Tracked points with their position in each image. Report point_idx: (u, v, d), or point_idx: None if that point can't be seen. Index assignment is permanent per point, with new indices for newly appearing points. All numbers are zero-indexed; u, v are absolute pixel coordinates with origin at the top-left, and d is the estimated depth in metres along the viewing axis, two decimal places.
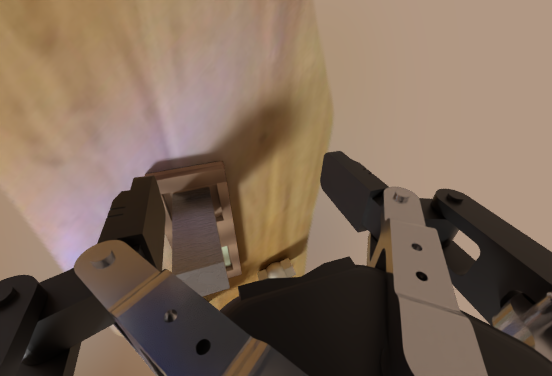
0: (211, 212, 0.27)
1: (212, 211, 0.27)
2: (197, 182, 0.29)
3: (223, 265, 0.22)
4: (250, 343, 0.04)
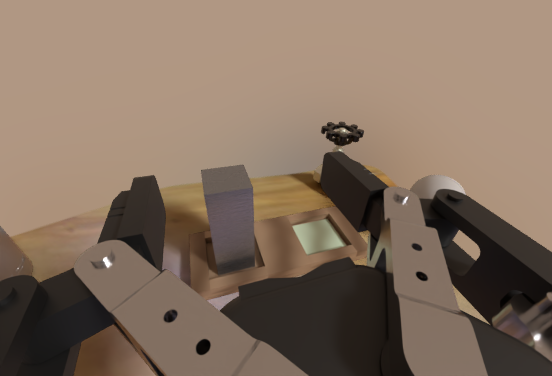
0: None
1: None
2: (200, 252, 0.30)
3: (206, 170, 0.25)
4: (250, 343, 0.04)
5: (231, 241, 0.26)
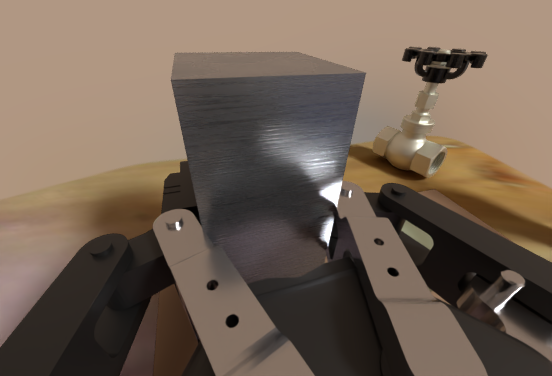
0: None
1: None
2: None
3: (191, 53, 0.08)
4: (273, 333, 0.04)
5: (266, 267, 0.09)
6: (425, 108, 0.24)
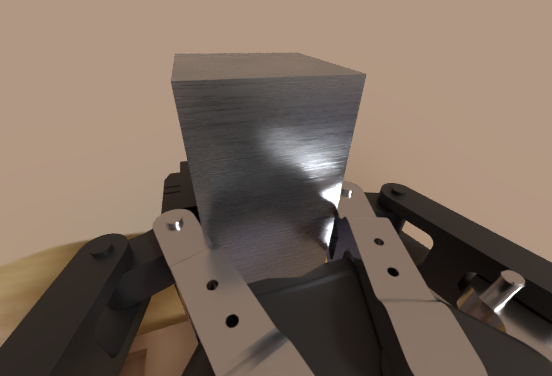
0: None
1: None
2: None
3: (191, 54, 0.08)
4: (273, 333, 0.04)
5: (267, 268, 0.09)
6: None
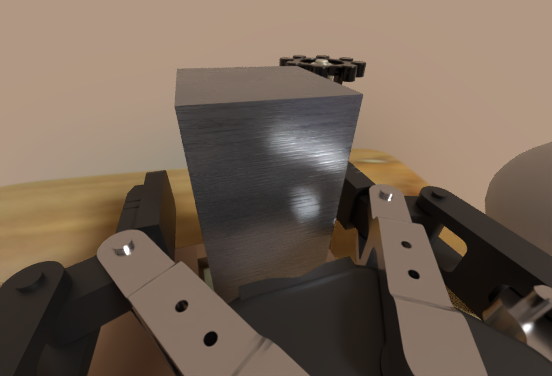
0: None
1: None
2: None
3: (192, 69, 0.08)
4: (256, 339, 0.04)
5: (267, 277, 0.09)
6: None
